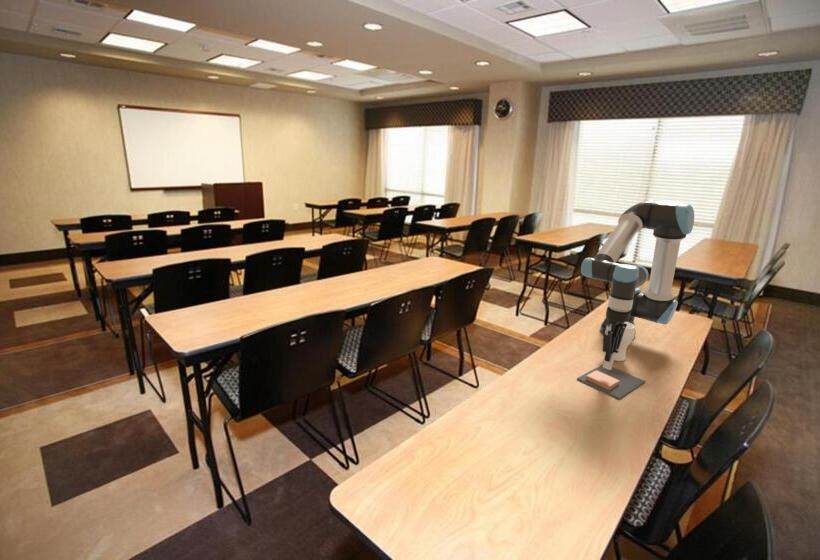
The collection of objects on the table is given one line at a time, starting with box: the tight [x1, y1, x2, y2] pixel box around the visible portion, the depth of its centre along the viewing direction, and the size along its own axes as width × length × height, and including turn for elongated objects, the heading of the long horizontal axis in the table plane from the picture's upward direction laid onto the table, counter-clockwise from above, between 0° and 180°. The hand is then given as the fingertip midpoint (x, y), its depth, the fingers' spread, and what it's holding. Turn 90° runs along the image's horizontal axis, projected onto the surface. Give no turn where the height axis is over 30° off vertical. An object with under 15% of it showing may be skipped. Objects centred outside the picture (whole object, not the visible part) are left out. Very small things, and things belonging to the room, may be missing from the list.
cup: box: [606, 322, 636, 362], centre depth 169 cm, size 11×11×15 cm
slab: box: [586, 370, 620, 390], centre depth 150 cm, size 2×9×7 cm
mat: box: [576, 364, 646, 400], centre depth 152 cm, size 20×16×1 cm
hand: (607, 368), depth 149 cm, fingers closed
